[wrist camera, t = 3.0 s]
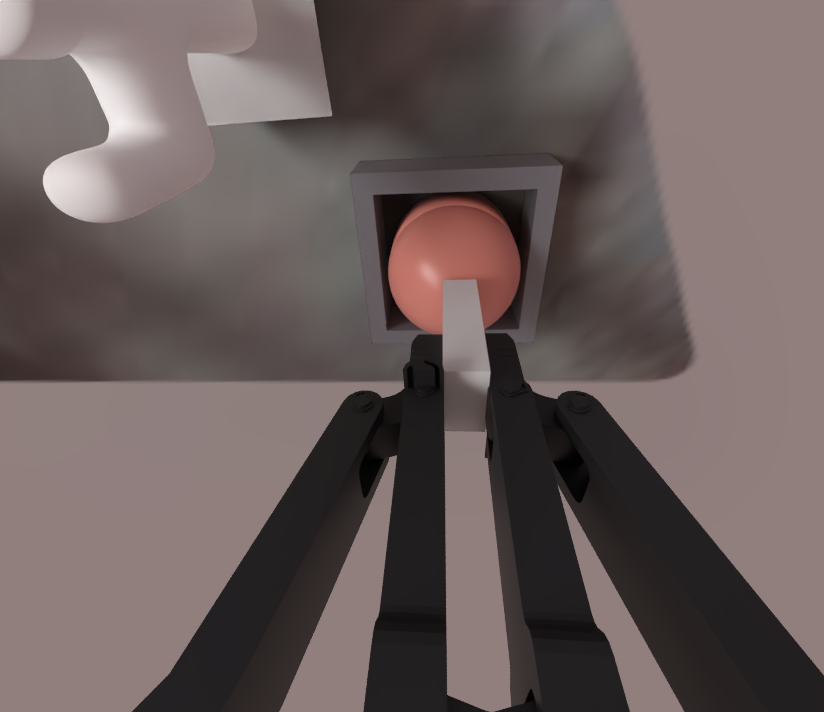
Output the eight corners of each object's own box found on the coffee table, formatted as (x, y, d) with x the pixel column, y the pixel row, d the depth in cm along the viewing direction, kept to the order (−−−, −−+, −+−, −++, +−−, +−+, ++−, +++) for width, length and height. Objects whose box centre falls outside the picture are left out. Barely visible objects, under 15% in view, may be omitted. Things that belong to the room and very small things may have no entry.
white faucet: (311, -149, 15) (-182, -957, 3) (351, 132, 21) (230, 233, 9) (134, -125, 16) (-852, -721, 4) (219, 142, 21) (-65, 248, 9)
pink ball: (398, 299, 26) (387, 363, 21) (389, 188, 22) (373, 232, 17) (504, 297, 26) (522, 363, 20) (516, 184, 22) (542, 227, 16)
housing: (378, 319, 27) (372, 344, 25) (359, 161, 21) (350, 173, 19) (525, 317, 27) (533, 342, 24) (548, 153, 21) (562, 165, 18)
